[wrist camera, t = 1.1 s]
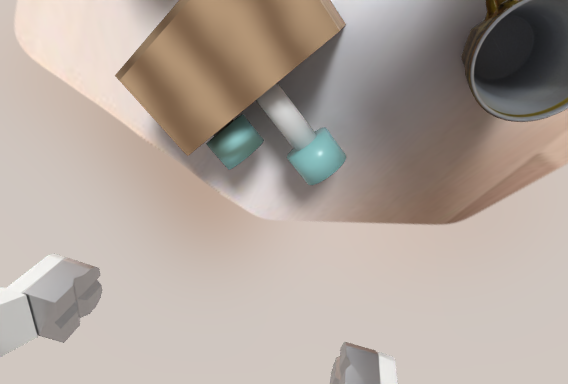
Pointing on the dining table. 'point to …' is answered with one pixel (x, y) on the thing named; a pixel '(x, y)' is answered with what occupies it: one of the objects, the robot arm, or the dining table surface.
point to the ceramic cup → (520, 59)
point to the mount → (223, 66)
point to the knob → (302, 138)
